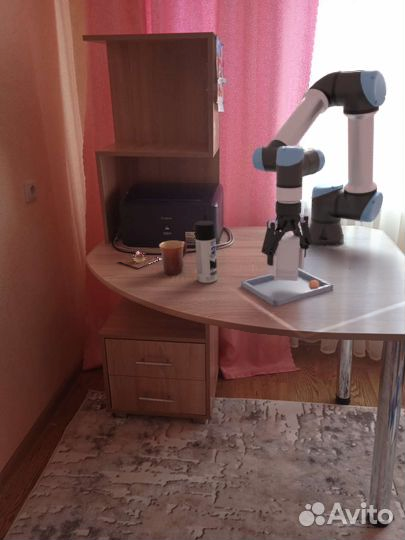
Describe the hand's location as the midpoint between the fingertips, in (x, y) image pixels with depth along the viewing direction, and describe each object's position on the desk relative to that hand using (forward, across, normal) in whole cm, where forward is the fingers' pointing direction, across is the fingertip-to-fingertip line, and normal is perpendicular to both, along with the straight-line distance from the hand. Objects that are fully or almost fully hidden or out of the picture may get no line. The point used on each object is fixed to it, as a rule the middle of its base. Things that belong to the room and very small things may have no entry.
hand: (286, 271), depth 146 cm
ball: (+6, -6, +6) cm, 10 cm away
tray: (+6, 0, 0) cm, 6 cm away
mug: (+7, +22, -35) cm, 42 cm away
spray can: (+7, +17, -21) cm, 28 cm away
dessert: (+7, +30, -51) cm, 60 cm away
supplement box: (+2, 0, 0) cm, 2 cm away
